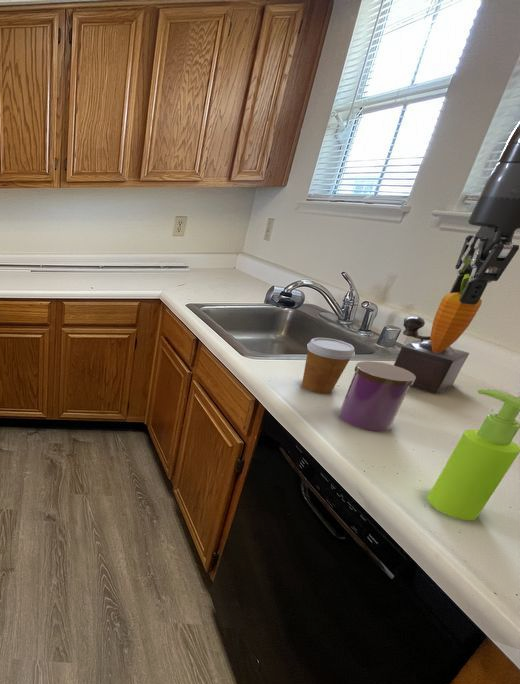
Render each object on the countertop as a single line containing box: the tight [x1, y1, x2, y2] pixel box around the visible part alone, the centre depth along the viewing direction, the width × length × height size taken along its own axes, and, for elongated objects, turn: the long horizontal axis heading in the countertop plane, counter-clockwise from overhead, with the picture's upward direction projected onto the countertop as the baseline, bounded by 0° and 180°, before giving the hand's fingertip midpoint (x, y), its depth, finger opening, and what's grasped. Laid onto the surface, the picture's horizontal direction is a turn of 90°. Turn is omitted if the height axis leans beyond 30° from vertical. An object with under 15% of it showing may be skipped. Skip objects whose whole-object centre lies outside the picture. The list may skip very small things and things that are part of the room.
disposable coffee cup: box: [301, 337, 356, 395], centre depth 102 cm, size 10×10×12 cm
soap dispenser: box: [426, 388, 520, 521], centre depth 63 cm, size 6×7×20 cm
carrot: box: [430, 274, 483, 354], centre depth 75 cm, size 5×5×15 cm
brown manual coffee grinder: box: [393, 315, 470, 395], centre depth 103 cm, size 16×11×18 cm
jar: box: [338, 360, 416, 433], centre depth 88 cm, size 10×10×12 cm
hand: (462, 299), depth 73 cm, fingers closed on carrot, 4 cm apart
